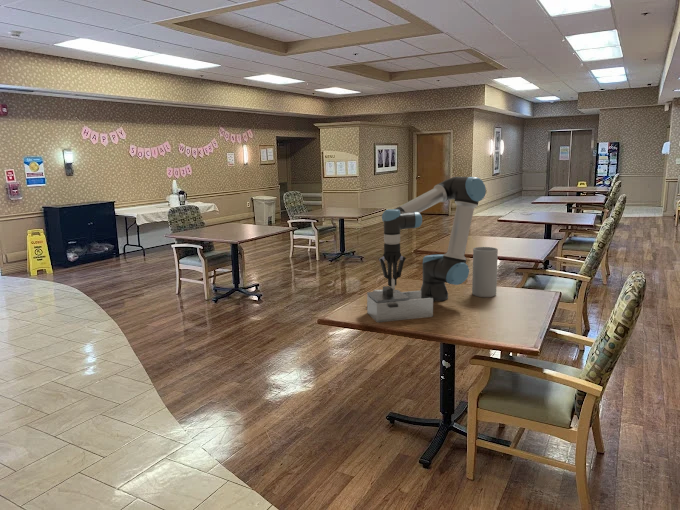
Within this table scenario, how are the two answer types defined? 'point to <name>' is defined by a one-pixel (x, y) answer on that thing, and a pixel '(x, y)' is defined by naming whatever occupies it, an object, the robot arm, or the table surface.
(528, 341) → the table surface
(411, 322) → the table surface
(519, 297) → the table surface
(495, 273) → the cylinder vase
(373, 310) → the grey lidded storage box
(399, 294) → the lid
